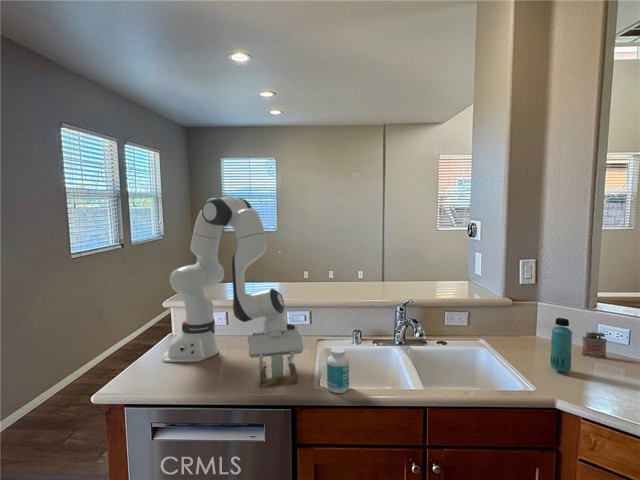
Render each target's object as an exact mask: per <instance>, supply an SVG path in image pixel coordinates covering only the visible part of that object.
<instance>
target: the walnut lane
mask: <svg viewBox="0 0 640 480" xmlns="http://www.w3.org/2000/svg"><path fill="white" fill-rule="evenodd" d="M286 356H287V361H288V360H289V359H291V356H290V355H286ZM258 361H259V360H258ZM288 369H289V372H290V373H289V374H290V375H287V376H284V377H276V378H272V377H270V378H269V377H268V378H265V372H264V368H262V364H261V362H260V361H259V378H260V388H269V387H279V386H289V385H297V384H298V383H297V382H298V379H297V378H298V377H297V374H296V371H295V367H294V364H292V366H288Z"/></svg>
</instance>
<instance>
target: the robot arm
mask: <svg viewBox="0 0 640 480" xmlns="http://www.w3.org/2000/svg"><path fill="white" fill-rule="evenodd" d="M226 226H231V227H232V228H233V230H234V232H235V237H236V241H237V247H236V252H235V253H234V254H233V256H232V259H231V273H232V274H231V275H232V276H231V277H232V291H233V292H232V293H233V294H232V295H233V298H232V308H233V315H234V317H235V318H236V319H237V320H239V321H240V322H243V323H246V322H250V321H252V320H255V319H259V318H263V324H262V329H263V331H261V332H251V334H249V335H247V343H248V345H249V346H248V356H249V357H250V358H251V359H255V358H258V361H260V362H261V364H262V368H263V369H266V368H267V361H264V359H263V358H265V357H266V358H267V357H271V355H277V354H282V355H283V356H291V359H289V360H288V359H287V366H288V367H289V366H292V364H293V363H294V362H293V360H294V358H295V355H298V354H302V353H303V351H304V343H303V342H304V341H303V338H302V335H301V334H300V332H299V327H298V325H296V324H291V323H287V322H286V320H285V314H286V313H285V302H284V298H283V295H282V294H281V293H280V292H279V291H278V290H277V289H274V288H269V289H263V290H259V291H256V292H252V293H251V292H250V293H247V291H246V282H245V281H246V280H245V276H246V275H245V274H246V270H247V268H248V267H249V266H250V265H252V264H253V263H254V262H256V261H258V259H260V258H262V256H263V255H264V254H265V253H266V251H267V247H268V241H267V237H266V232H265V228H264V225H263V222H262V220H261V217H260V215H259V213H258V211H256V210H255V209H253V208H252V205H251V204H250V202H249V201H248V200H246V199H243V198H241V197H240V198H238V197H231V196H230V197H229V196H227V197H211V198H209V199H207V200H205V201H204V203H203V204H202V208H201V210H200V211H199V213H198V215H197V217H196V221H195V224H194V227H193V232H192V237H191V243H190V247H189V248H190V251H191V253H192V254H193V255H194V256H196V262H195V264H189V265H184V266H181V267H179V268H176V269H174V270H172V272H171V274H170V276H169V284H170V287H171V289H172V290H174V292H176V293H178V294H179V295H180V297H181V298H182V300H183V303H184V307H185V319H186V320H183V321H182V323H181V332H180V333H178V334H177V335H176V336H175V337H173V338H172V339H171V341H170V342H169V344H168V349H167V350H166V351H165V352H164V353H163V355H162V361H163V363H187V362H188V363H189V362H190V363H193V362H194V363H195V362H199V363H200V362H202V361H203V360H205V359H208V358H209V359H210V358H211V357H213V356H216V355H217V354H218V353H219V351H220V350H219V348H218V345H217V340H216V336H215V335H216V334H215V333H216V322H215V319H214V304H213V301H212V300H211V299H209V298H208V297H206V295H205V293H204V291H205V290H204V289H207V288H211V287H214V286H217V285H218V284H220V283H221V282H222V281H223V280H224V279H225V271H224V267H223V266H222V264H220V262H219V255H218V254H219V248H220V242H221V236H222V233H223V228H224V227H226ZM293 365H294V364H293Z"/></svg>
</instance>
